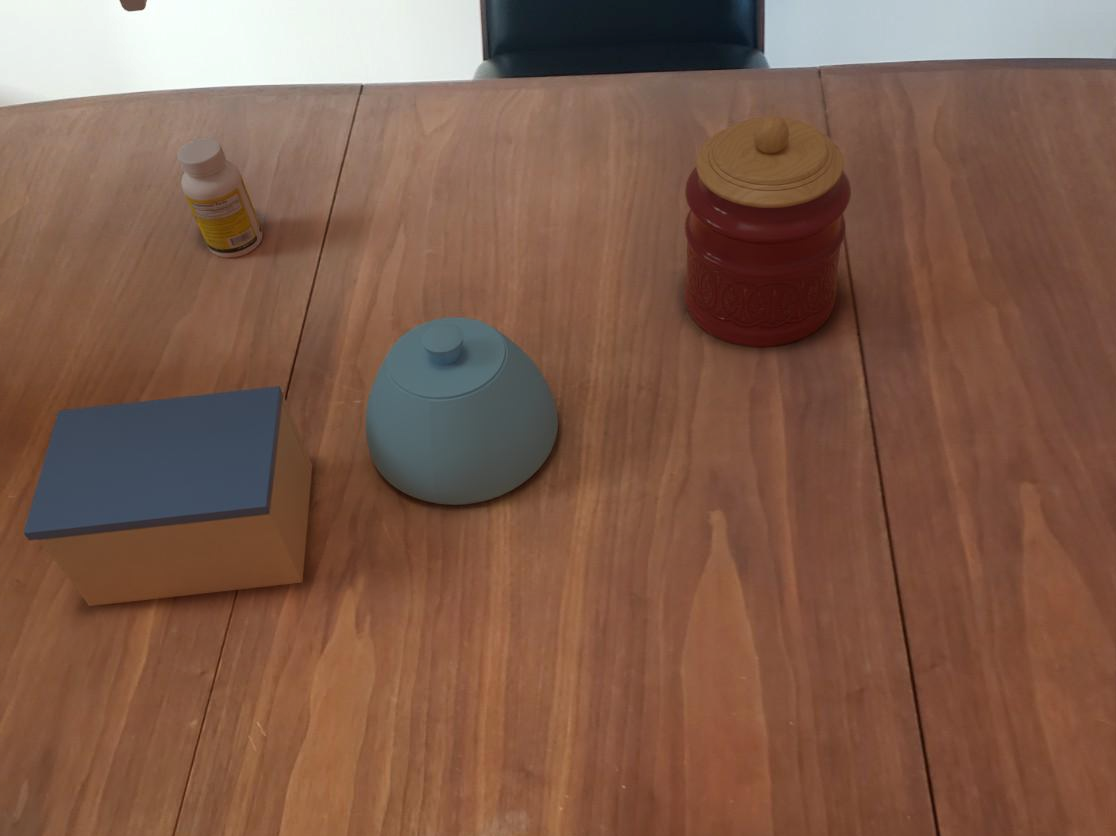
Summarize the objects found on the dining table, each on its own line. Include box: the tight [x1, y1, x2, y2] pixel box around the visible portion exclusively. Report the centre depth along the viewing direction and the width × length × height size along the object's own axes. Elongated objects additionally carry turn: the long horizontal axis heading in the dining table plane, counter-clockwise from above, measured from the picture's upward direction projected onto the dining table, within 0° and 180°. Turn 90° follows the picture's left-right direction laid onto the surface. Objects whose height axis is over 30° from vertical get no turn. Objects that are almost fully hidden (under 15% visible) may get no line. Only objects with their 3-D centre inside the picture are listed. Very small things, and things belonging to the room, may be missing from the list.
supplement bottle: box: [176, 137, 263, 258], centre depth 101 cm, size 5×5×10 cm
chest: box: [38, 394, 313, 607], centre depth 79 cm, size 16×12×9 cm
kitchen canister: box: [684, 114, 852, 348], centre depth 88 cm, size 13×13×18 cm
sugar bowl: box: [365, 316, 559, 506], centre depth 82 cm, size 15×15×12 cm
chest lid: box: [23, 386, 284, 541], centre depth 75 cm, size 16×12×1 cm
